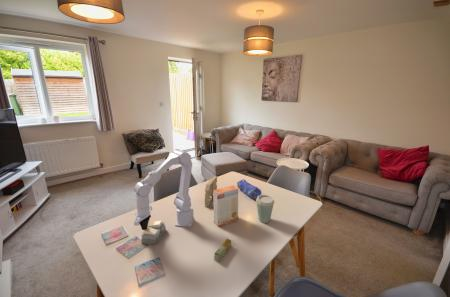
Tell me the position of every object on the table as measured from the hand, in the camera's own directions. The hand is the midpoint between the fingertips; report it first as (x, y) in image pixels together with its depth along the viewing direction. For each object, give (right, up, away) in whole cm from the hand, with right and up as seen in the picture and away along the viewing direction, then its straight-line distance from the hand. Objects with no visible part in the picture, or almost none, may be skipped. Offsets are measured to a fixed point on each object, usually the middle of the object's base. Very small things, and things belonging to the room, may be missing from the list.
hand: (144, 229), depth 103 cm
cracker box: (+42, -2, +18) cm, 46 cm away
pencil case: (+60, +6, +51) cm, 79 cm away
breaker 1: (+4, 0, +6) cm, 7 cm away
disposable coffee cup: (+65, -2, +19) cm, 68 cm away
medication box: (+41, -9, -7) cm, 42 cm away
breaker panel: (+3, -5, +4) cm, 8 cm away
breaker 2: (+3, -1, 0) cm, 3 cm away
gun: (+31, +5, +44) cm, 54 cm away
